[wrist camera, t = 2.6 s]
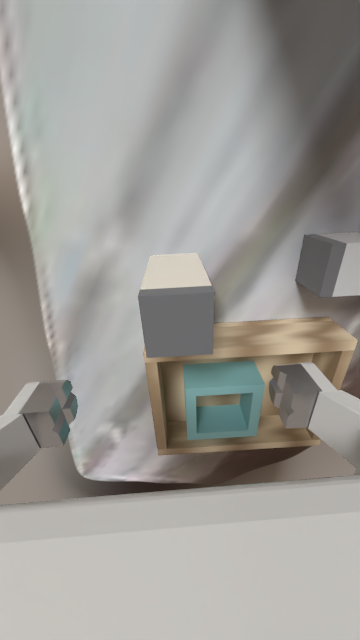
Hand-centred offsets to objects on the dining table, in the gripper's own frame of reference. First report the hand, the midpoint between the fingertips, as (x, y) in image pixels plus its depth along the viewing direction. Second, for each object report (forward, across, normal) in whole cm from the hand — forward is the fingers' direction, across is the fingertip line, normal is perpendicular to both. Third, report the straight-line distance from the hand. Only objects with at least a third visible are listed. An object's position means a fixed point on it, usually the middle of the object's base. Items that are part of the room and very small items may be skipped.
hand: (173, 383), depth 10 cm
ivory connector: (+13, -1, 0) cm, 13 cm away
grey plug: (+13, -17, -1) cm, 21 cm away
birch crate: (+13, -6, +12) cm, 19 cm away
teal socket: (+13, -5, +13) cm, 19 cm away
